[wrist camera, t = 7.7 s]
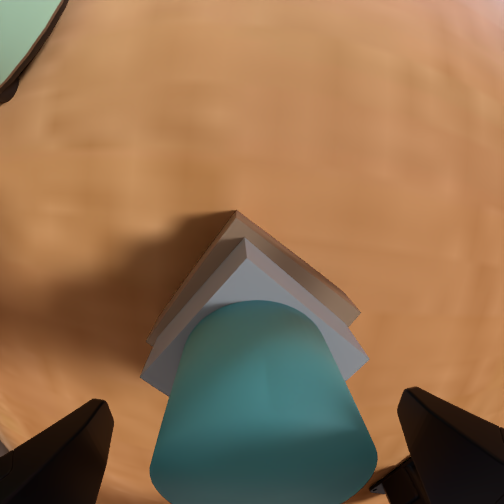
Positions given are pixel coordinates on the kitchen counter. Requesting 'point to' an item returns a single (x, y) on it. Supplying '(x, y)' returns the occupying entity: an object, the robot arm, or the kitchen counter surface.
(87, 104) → the kitchen counter surface
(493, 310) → the kitchen counter surface
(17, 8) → the blender
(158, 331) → the tower base
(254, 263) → the tower top
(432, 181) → the kitchen counter surface
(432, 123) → the kitchen counter surface
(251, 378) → the teal domed cylinder
